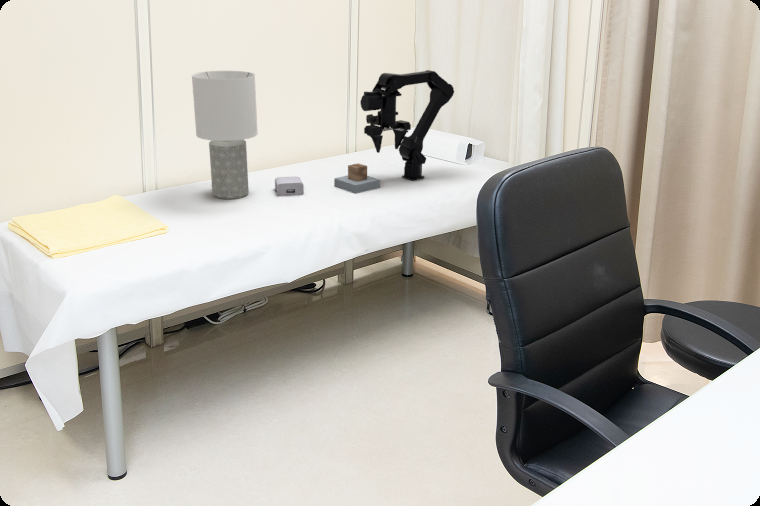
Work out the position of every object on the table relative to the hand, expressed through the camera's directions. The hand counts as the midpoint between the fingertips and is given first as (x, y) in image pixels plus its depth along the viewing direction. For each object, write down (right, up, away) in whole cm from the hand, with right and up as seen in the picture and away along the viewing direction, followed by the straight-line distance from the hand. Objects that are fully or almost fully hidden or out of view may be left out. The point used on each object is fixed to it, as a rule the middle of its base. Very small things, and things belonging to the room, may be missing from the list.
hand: (387, 150), depth 276 cm
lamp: (-56, -17, -14) cm, 60 cm away
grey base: (-11, -14, -2) cm, 18 cm away
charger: (-36, -15, -7) cm, 40 cm away
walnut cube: (-11, -11, -4) cm, 16 cm away
